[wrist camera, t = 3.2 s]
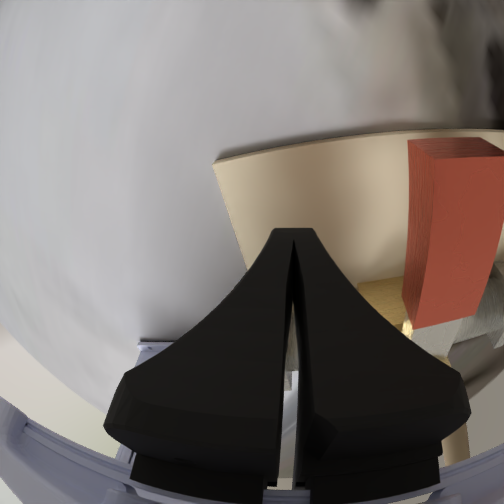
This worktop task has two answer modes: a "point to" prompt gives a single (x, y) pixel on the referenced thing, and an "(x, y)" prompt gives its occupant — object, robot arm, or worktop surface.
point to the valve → (393, 309)
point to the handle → (456, 446)
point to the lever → (449, 235)
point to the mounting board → (333, 197)
